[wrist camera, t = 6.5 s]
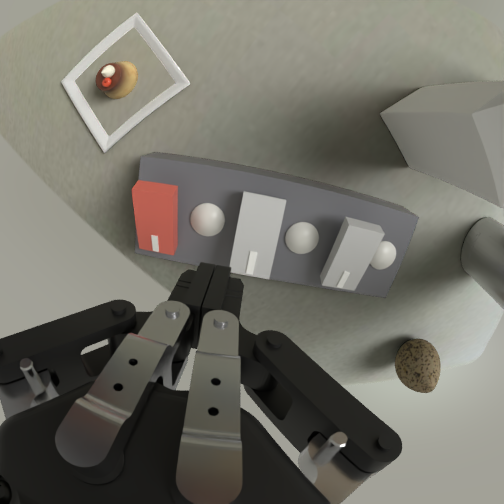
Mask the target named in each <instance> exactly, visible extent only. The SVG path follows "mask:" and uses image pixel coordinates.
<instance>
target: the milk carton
mask: <svg viewBox="0 0 504 504" xmlns="http://www.w3.org/2000/svg"><path fill="white" fill-rule="evenodd" d="M380 115H381V117H382V119H383V120H384V122H385V124H386V125H387V127H388V129H389V131H390V132H391V134H392V136H393V138H394V140H395V141H396V143H397V145H398V147H399V149H400V151H401V153H402V154H403V156H404V158H405V160H406V162H407V164H408V166H409V167H410V168H411V169H414V170H417V171H420V172H422V173H425V174H428V175H430V176H433V177H435V178H438V179H440V180H443V181H445V182H447V183H450V184H452V185H455V186H457V187H459V188H461V189H464V190H466V191H468V192H470V193H472V194H475V195H477V196H479V197H481V198H483V199H485V200H487V201H489V202H491V203H493V204H495V205H497V206H499V207H500V208H504V81H479V82H463V83H452V84H442V85H434V86H426V87H421V88H420V89H418V90H416V91H415V92H413V93H411V94H410V95H408V96H407V97H405V98H403V99H402V100H400V101H398V102H397V103H395V104H394V105H392V106H390V107H389V108H387V109H386V110H384V111H383V112H381V113H380Z"/></svg>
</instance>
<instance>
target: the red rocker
mask: <svg viewBox="0 0 504 504" xmlns="http://www.w3.org/2000/svg"><path fill="white" fill-rule="evenodd" d="M132 198H133V206H134V215H135V222H136V229H137V236H138V243H139V249H144V250H149V251H154V252H159V253H164V254H169V255H174V254H175V251H176V249H177V246H178V186H176V185H169V184H163V183H156V182H149V181H142V180H138V181H137V182H136V184H135V185H134V187H133V188H132Z"/></svg>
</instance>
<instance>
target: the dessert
mask: <svg viewBox="0 0 504 504" xmlns="http://www.w3.org/2000/svg"><path fill="white" fill-rule="evenodd" d="M133 27H135V28H136V30H137V31H138V32H139V33H140V35H141V36H142V37H143V39H144V40H145V41H146V43H147V44H148V45H149V47H150V48H151V49H152V51H153V52H154V53H155V55H156V56H157V58H158V59H159V60H160V62H161V63H162V64H163V66H164V67H165V68H166V70H167V71H168V73H169V74H170V75H171V77H172V78H173V79H174V81H175V84H174V85H172V86H171V87H169V88H168V89H167V90H165V91H164V92H163V93H161V94H160V95H158V96H157V97H156V98H155V99H153V100H152V101H151V102H149V103H148V104H147V105H146V106H144V107H143V108H142V109H141V110H139V111H138V112H137V113H136V114H134V115H133V116H132V117H131V118H130V119H129V120H127V121H126V122H125V123H124V124H123V125H122V126H121V127H119V128H118V129H117V130H116V131H115V132H114V133H113V134H112V135H111V136H108V135H107V133H106V132H105V130H104V129H103V127H102V125H101V124H100V122H99V121H98V119H97V117H96V116H95V114H94V113H93V111H92V109H91V108H90V106H89V105H88V103H87V101H86V100H85V98H84V96H83V95H82V93H81V91H80V90H79V88H78V86H77V85H76V83H75V80H76V79H77V78H78V77H79V76H80V75H81V74H82V73H83V72H84V71H85V70H86V69H87V68H88V67H89V66H90V65H91V64H92V63H93V62H94V61H95V60H96V59H97V58H98V57H99V56H100V55H101V54H102V53H103V52H104V51H106V50H107V49H108V48H109V47H110V46H111V45H112V44H114V43H115V42H116V41H117V40H118V39H119V38H121V37H122V36H123V35H124V34H126V33H127V32H128V31H129V30H131V29H132V28H133ZM137 78H138V73H137V69H136V67H135V66H134V65H133V64H132V63H130V62H128V61H121V62H115V63H109V64H106V65H104V66H103V67H102V68H101V69H100V70H99V72H98V73H97V76H96V85H97V87H98V88H99V89H100V90H101V91H102V92H104V93H105V94H106V95H107V96H108V97H110V98H112V99H120V98H123V97H125V96H126V95H128V94H129V93H130V92H131V91H132V90H133V88H134V87H135V85H136V82H137ZM61 83H62V85H63V87H64V88H65V90H66V92H67V94H68V95H69V97H70V99H71V100H72V102H73V104H74V105H75V107H76V109H77V110H78V112H79V114H80V115H81V117H82V119H83V120H84V122H85V124H86V125H87V127H88V128H89V130H90V132H91V133H92V135H93V136H94V138H95V139H96V141H97V143H98V144H99V146H100V147H101V149H102V150H103V152H104V153H106V152H107V151H108V150H109V149H110V148H111V147H112V146H113V145H114V144H115V143H116V142H117V141H119V140H120V139H121V138H122V137H123V136H124V135H125V134H126V133H128V132H129V131H130V130H131V129H132V128H133V127H135V126H136V125H137V124H138V123H139V122H141V121H142V120H143V119H144V118H145V117H147V116H148V115H149V114H150V113H152V112H153V111H154V110H156V109H157V108H158V107H159V106H161V105H162V104H163V103H165V102H166V101H167V100H169V99H170V98H172V97H173V96H174V95H176V94H177V93H179V92H180V91H181V90H183V89H184V88H186V87H187V86H189V85H190V82H189V80H188V79H187V78H186V76H185V75H184V74H183V72H182V71H181V69H180V68H179V67H178V65H177V64H176V63H175V61H174V60H173V58H172V57H171V56H170V54H169V53H168V52H167V50H166V49H165V48H164V46H163V45H162V44H161V42H160V41H159V40H158V38H157V37H156V36H155V35H154V33H153V32H152V31H151V29H150V28H149V27H148V25H147V24H146V23H145V22H144V20H143V19H142V18H141V17H140V15H139V14H138V13H135V14H134V15H132V16H131V17H130V18H128V19H127V20H126V21H125V22H123V23H122V24H121V25H120V26H118V27H117V28H116V29H115V30H113V31H112V32H111V33H110V34H109V35H107V36H106V37H105V38H104V39H103V40H102V41H101V42H99V43H98V44H97V45H96V46H95V47H94V48H93V49H92V50H91V51H90V52H89V53H88V54H87V55H86V56H85V57H84V58H83V59H81V60H80V62H79V63H78V64H77V65H76V66H75V67H74V68H73V69H72V70H71V71H70V72H69V73H68V74H67V75H66V76H65V77H64V78H63V80H62V81H61Z"/></svg>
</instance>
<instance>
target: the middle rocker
mask: <svg viewBox="0 0 504 504" xmlns="http://www.w3.org/2000/svg"><path fill="white" fill-rule="evenodd" d="M285 205H286V200H285V199H280V198H275V197H271V196H266V195H261V194H256V193H251V192H245V191H244V193H243V198H242V203H241V208H240V213H239V219H238V224H237V229H236V234H235V239H234V245H233V250H232V255H231V261H230V266H229V267H231V273H236V274H242V275H247V276H253V277H258V278H264V279H269V278H270V273H271V269H272V265H273V260H274V256H275V251H276V247H277V242H278V238H279V233H280V228H281V224H282V219H283V214H284V210H285Z"/></svg>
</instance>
